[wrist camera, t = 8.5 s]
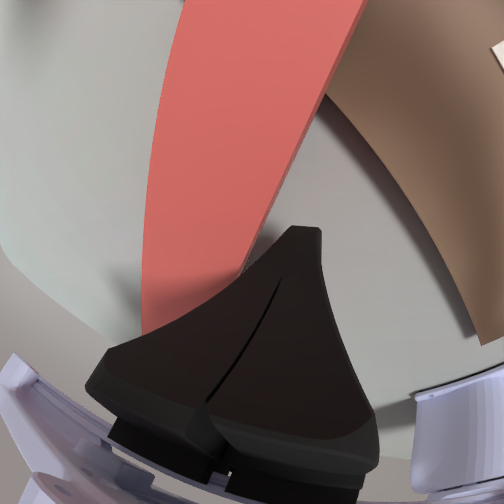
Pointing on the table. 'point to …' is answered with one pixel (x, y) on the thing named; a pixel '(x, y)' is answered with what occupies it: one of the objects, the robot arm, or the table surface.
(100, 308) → the table surface
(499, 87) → the label board
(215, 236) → the swing arm
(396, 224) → the table surface
